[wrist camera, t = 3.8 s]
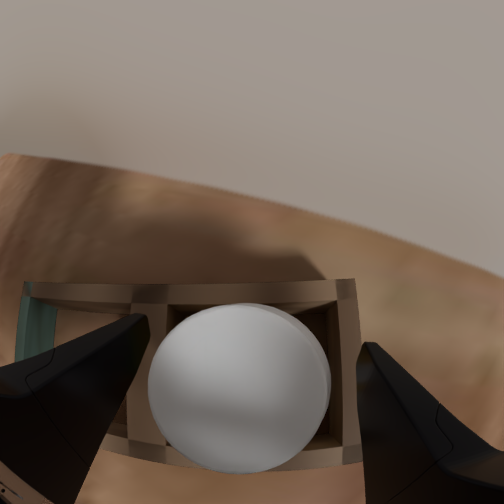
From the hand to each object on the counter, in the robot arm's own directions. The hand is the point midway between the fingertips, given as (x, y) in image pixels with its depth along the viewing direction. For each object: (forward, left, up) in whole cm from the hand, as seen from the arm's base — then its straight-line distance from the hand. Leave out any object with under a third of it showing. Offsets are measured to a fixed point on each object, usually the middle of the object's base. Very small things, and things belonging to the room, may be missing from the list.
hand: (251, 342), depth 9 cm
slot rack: (-5, +2, -7) cm, 9 cm away
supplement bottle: (-1, -1, -7) cm, 7 cm away
